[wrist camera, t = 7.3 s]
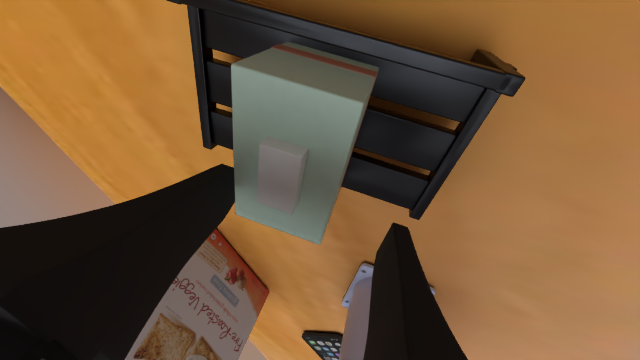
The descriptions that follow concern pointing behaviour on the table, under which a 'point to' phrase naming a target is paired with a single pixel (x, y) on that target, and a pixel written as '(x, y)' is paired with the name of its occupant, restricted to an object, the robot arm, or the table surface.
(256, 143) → the tissue box
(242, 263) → the cracker box
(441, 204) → the table surface
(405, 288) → the robot arm
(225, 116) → the rack
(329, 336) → the smartphone
